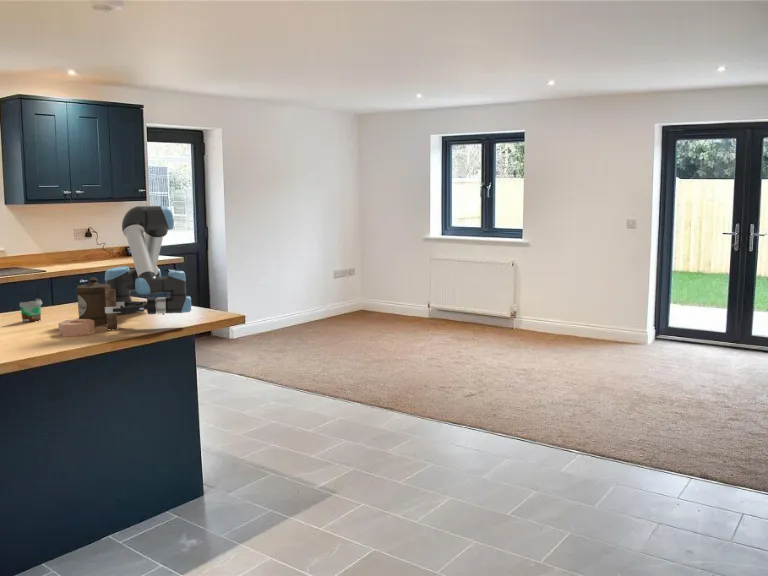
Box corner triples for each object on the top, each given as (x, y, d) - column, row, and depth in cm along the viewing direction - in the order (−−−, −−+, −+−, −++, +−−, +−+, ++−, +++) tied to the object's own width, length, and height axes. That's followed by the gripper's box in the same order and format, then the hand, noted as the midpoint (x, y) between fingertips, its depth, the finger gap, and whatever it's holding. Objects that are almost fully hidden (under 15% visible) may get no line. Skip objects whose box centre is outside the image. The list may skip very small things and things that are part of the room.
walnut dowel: (115, 327, 327) (113, 288, 324) (119, 328, 323) (117, 289, 321) (105, 328, 324) (103, 289, 321) (109, 330, 320) (107, 290, 318)
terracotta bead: (86, 328, 324) (86, 317, 324) (98, 332, 314) (97, 321, 314) (56, 332, 315) (55, 321, 314) (67, 337, 305) (66, 325, 305)
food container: (32, 323, 337) (30, 302, 336) (20, 323, 339) (19, 302, 337) (49, 319, 349) (47, 298, 348) (38, 318, 351) (36, 298, 349)
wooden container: (79, 321, 342) (76, 276, 338) (112, 319, 347) (110, 275, 344) (78, 327, 328) (75, 280, 325) (113, 325, 333) (110, 278, 330)
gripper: (154, 318, 315) (103, 320, 310) (158, 309, 339) (111, 311, 334) (153, 301, 314) (102, 303, 309) (158, 293, 338) (110, 295, 333)
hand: (107, 307), depth 321 cm, fingers open, 13 cm apart
